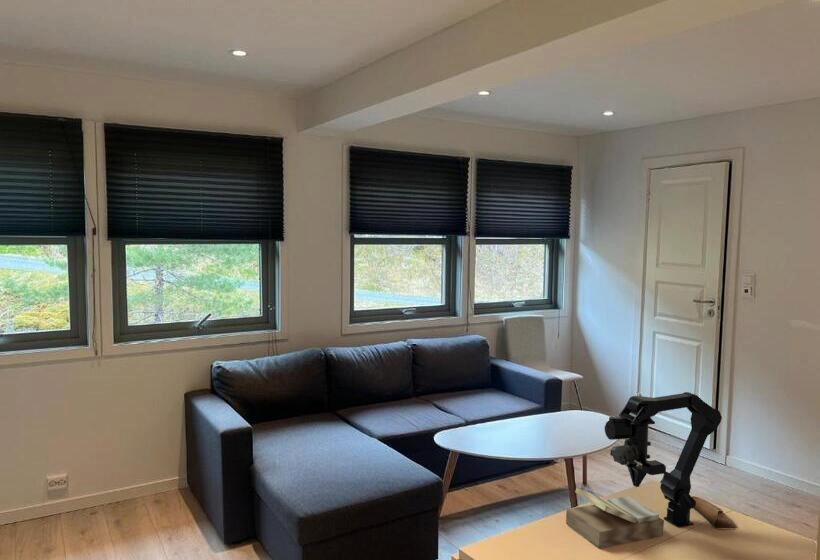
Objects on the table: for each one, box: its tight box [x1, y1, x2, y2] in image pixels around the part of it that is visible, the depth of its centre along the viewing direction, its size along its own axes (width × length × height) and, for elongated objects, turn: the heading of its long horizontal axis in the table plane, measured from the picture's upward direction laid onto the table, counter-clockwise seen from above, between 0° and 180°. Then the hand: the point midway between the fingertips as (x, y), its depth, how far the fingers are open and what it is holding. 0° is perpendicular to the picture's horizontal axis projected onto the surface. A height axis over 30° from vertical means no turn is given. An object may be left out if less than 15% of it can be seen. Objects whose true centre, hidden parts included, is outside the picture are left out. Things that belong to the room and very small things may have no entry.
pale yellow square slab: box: [574, 487, 637, 523], centre depth 183 cm, size 13×14×2 cm
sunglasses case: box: [691, 496, 739, 529], centre depth 196 cm, size 18×7×7 cm, turn 1°
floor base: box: [565, 496, 665, 550], centre depth 185 cm, size 24×16×6 cm, turn 111°
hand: (636, 486), depth 187 cm, fingers closed
